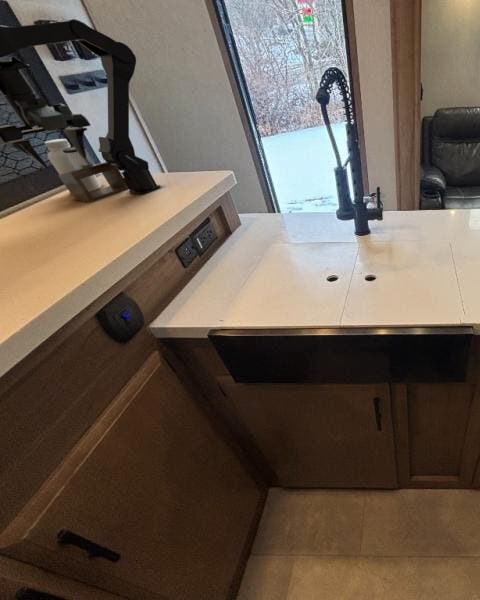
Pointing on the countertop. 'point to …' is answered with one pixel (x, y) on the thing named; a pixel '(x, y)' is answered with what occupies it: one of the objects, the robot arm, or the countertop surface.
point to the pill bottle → (67, 162)
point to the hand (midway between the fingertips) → (66, 163)
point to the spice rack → (74, 177)
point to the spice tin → (78, 158)
